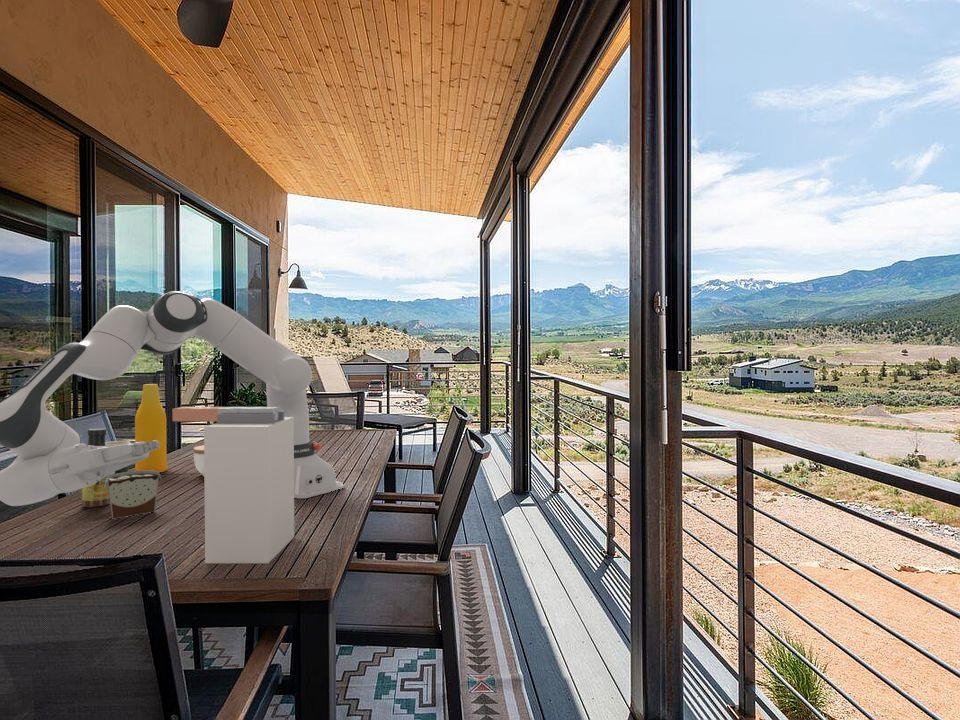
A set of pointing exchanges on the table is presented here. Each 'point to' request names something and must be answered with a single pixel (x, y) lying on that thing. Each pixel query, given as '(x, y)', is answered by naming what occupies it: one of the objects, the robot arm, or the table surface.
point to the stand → (248, 487)
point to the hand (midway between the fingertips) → (145, 446)
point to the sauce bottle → (98, 492)
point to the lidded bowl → (199, 458)
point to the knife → (219, 412)
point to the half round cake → (132, 492)
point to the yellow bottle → (151, 429)
